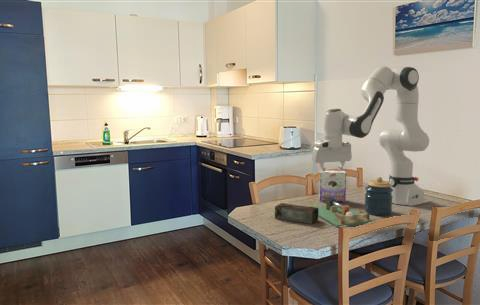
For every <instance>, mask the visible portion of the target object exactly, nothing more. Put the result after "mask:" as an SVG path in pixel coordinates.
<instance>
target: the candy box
mask: <svg viewBox="0 0 480 305" xmlns="http://www.w3.org/2000/svg"><path fill="white" fill-rule="evenodd" d="M346 186H347V172H346V171H345V170H327V169H325V171H324V172H322V171H321V169H320V170H319V202H325V198H328V197H331V198H333V199H335V200H336V202H337V203H346V191H347V187H346Z"/></svg>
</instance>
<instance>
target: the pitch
mask: <svg viewBox="0 0 480 305" xmlns="http://www.w3.org/2000/svg"><path fill="white" fill-rule="evenodd" d="M309 207H315V208H318V209H319V210H318V219H321V220H323V221H325V222H326V223H328V224H329V225H331V226H333V227H335V228H340V227H339V226H342V225H348V226H347V227H353V226H361V224H363V225H366V224H365V223H368V222H372V221H375V222H376V220H374V219H373V218H371V217H369V221H367V222H358V223H349V224H341V223H339V222H337V221H335V213H339V214H342V209H340V208H338V207H336V206H329V205H327V204H325V203H324V205H323V204H322V205H314V206H313V205H312V206H311V205H310V206H309ZM350 212H352V213H353V215H355V214H359V212H357V211H355V210H353V209H351V208H350Z"/></svg>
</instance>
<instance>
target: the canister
mask: <svg viewBox="0 0 480 305" xmlns="http://www.w3.org/2000/svg"><path fill="white" fill-rule="evenodd" d="M366 184H367V186H365V187H364V189H365V194H364V206H363V208H364V209H363V210H364V211H365V212H367V213H369V215H373V216H382V217H384V216H390V215H391V214H392V211H393V207H392V206H393V203H392V198H393V196H392V191H393V189H392V188H391V186H392V185H391V184H390V183H389V181H387V180H383V178H382V177H380V176H378V177H377V178H376V179H372V180H370V181H368V182H367V183H366Z"/></svg>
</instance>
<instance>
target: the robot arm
mask: <svg viewBox="0 0 480 305" xmlns="http://www.w3.org/2000/svg"><path fill="white" fill-rule="evenodd" d="M419 79H420V76H419V72H418V70H417V69H416V68H415V67H412V66H411V67H410V66H405V67H394V68H390V67H388V66H383V65H382V66H378V67H377V68H376V69H375V70H373V72H372V73H371V74H369V76H368V77H367V78H366V79H365V81H364V83H363V84H362V85H361V89H360V93H361V96H362V97H363V99H364V100H365V101H367V105H366V106H365V109H364V111H363V112H362V114H360V115H349V114H347V113H345V112H343V110H342V109H341V108H331V109H328V110H326V111H325V114H324V119H323V120H324V121H323V130H324V134H323V138H322V139H319V140H317V141H314V142H313V146H314V147H313V149H312V154H311V159H312V162H313V163H316V164H318V165H319V167H320V170H321V171H322V172H324V171H325V170H327V169H326V167H324V164H325V163H335V162H336V163H337V162H339V163H340V164H339V165H338V166H337V171H343V168H344V165H345V164H346V162H350V161H351V160H352V144H351V143H350V142H349V141H345V142H344V141H343V135H344V136H349V137H351V136H352V137H355V138H359V139H363V138H365V137H367V136H368V135H369V133H370V132H371V129H372V126H373V123H374V120H375V119H376V117H377V115H378V113H379V111H380V109H381V107H382V105H383V103H384V101H385V100H384V99H385V97H384V94H385V93H386V92H387V90H392V91H393V90H395V91H396V93H397V94H396V98H395V107H394V118H395V121H397V122H398V123H400V124H402V126H403V129H395V128H394V129H393V128H392V129H384V130H382V131H381V132H380V135H379V137H378V141H379V142H378V143H379V144H380V146H381V147H382V148H383V149H384V150H385V151H386V153H387V155H388V157H389V161H390V163H389V164H390V168H389V169H390V173H389V176H388V182H389V183H390V184H391V185H392V186H391V188H392V189H393V191H392V196H393V198H392V204H395V205H403V206H404V205H405V206H410V207H411V206H417V205H423V204H428V203H430V202H429V201H430V200H429V199H427V198H425V191H424V190H423V188H421V187H420V186H419V185H417V183H415V182H418V181H419V177H417V176H413V172H414V171H413V168H414V163H413V161H412V160H411V159H410V158H409V157H408V156H406V155H405V153H404V152H414V153H416V152H424V151H425V150H427V148H428V147H429V144H430V137H429V135H428V134H427V133H426V132H425V131H424V129H423V128H422V127H421V126H420V123H419V121H418V116H419V115H418V112H419V96H420V95H419V88H418V83H419Z"/></svg>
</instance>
